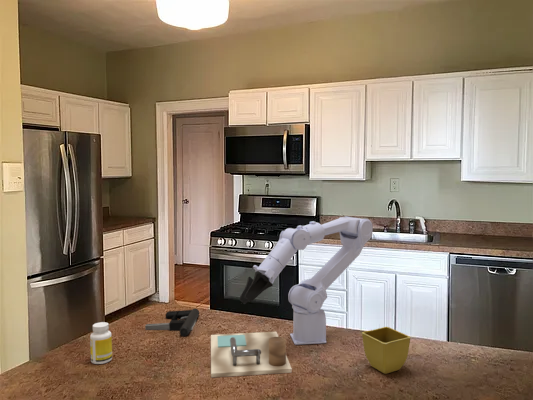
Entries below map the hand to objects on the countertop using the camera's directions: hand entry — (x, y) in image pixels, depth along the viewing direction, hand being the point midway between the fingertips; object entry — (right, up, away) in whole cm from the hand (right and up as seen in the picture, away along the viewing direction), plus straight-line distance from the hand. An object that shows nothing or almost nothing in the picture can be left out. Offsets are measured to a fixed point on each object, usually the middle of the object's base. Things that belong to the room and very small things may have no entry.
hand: (244, 300), depth 122 cm
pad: (-4, -15, +10) cm, 18 cm away
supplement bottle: (-38, -16, -1) cm, 41 cm away
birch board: (+1, -15, +3) cm, 16 cm away
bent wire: (0, -15, -1) cm, 15 cm away
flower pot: (+36, -16, -6) cm, 40 cm away
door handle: (-25, -14, +26) cm, 39 cm away
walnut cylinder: (+9, -15, -5) cm, 18 cm away
